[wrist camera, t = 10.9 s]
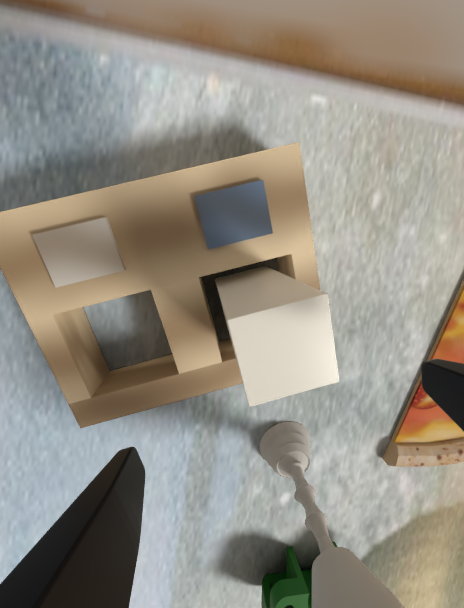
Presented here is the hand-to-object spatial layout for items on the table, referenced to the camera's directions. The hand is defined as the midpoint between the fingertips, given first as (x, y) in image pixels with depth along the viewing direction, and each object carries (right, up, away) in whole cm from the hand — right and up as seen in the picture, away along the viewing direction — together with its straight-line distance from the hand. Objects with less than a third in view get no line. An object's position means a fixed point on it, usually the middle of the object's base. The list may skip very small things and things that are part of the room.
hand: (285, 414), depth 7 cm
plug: (-1, +4, +12) cm, 13 cm away
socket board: (-5, +5, +11) cm, 13 cm away
